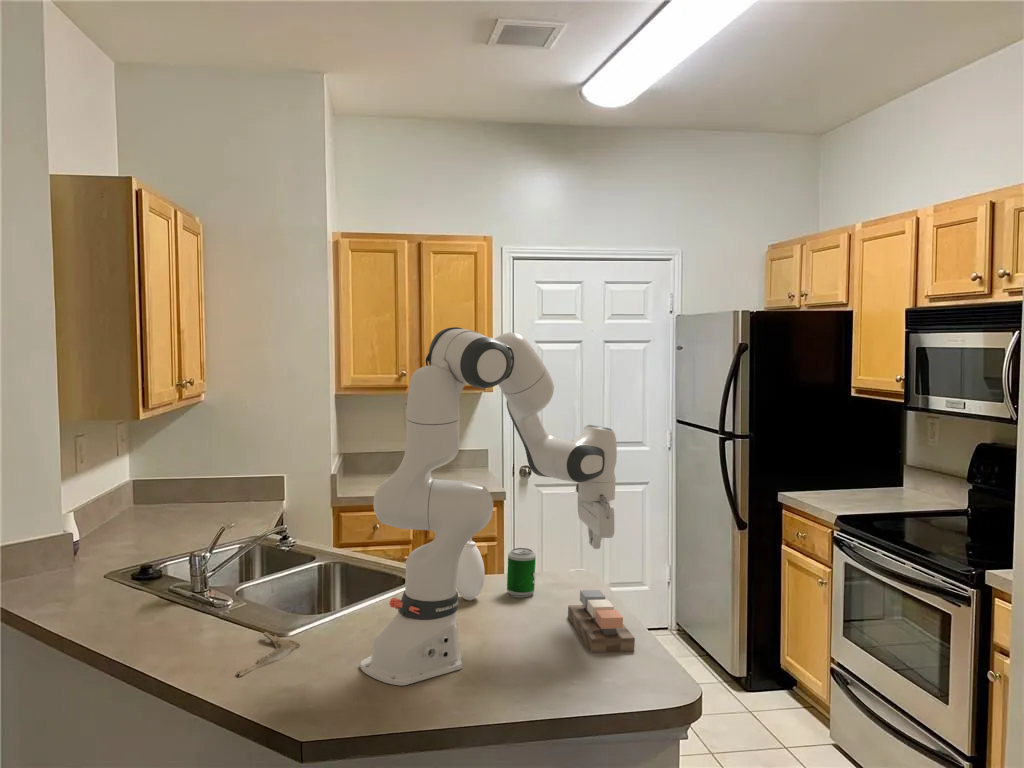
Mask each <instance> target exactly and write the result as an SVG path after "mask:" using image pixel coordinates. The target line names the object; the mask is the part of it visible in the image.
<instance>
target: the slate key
mask: <svg viewBox="0 0 1024 768" xmlns="http://www.w3.org/2000/svg"><path fill="white" fill-rule="evenodd" d="M605 599H606V596H605V595H604V593H603V592H602V591H601V590H600V589H585V590H583V589H581V590H580V591H579V601H580V602H581V605H584V606H585V611H586V612H587V613H589V612H588V610H587V604H588V600H605Z"/></svg>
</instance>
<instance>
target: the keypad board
mask: <svg viewBox="0 0 1024 768" xmlns="http://www.w3.org/2000/svg"><path fill="white" fill-rule="evenodd" d="M567 607H568V609H567V619H569V621H570V623H571V624H572V626H573V627H574V628H575V630H576V631H577V633H578V635H579V636H580V638H581V639H582V640H583V643H584V644H585V645H586V647H587V648H588V649H589V651H590V653H591V654H592V653H616V652H617V653H618V652H620V653H621V652H635V646H636V645H635V642H636V641H635V639H636V638H635V637H634V635H633V634H632V632H630V631H629V629H628V628H627V627H626V626H625V624H623V628H616V635H603V634H602V633H601V628H600V626H599V625H598V624H595V623H594V622H593V617H592V616H591V614H590V613H587V612H586V611H585V606H584V605H583V604H573V605H572V604H569V605H568V606H567Z"/></svg>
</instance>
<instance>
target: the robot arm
mask: <svg viewBox="0 0 1024 768" xmlns="http://www.w3.org/2000/svg"><path fill="white" fill-rule="evenodd" d="M553 382H554V381H553V379H552V376H551V375H550V372H549V371H548V369H547V368H546V366H545V364H544V362H543V360H542V359H541V358H540V356H539V355H538V353H537V352H536V351H535V349H534V348H533V346H531V343H529V342H528V341H527V340H526V338H524V337H523V335H521V334H520V333H517V332H506V333H503V334H502V333H501V334H500V335H498V336H496V337H495V338H493V337H489V336H487V335H484V334H482V333H480V332H478V331H475V330H472V329H466V328H463V327H462V328H461V327H455V326H454V327H447V328H445V329H442V330H440V331H438V332H437V334H436V335H435V336H433V338H432V340H431V343H430V345H429V349H428V353H427V355H426V358H425V365H424V366H422V367H419V368H418V369H416V370H415V371H414V372H413V373H412V375H411V377H410V382H409V386H408V392H407V402H406V403H407V404H406V439H405V448H404V454H403V458H402V461H401V463H400V465H399V467H398V468H397V469H396V471H394V473H393V474H391V475H390V476H389V477H388V478H386V479H385V480H383V482H382V483H381V484H379V486H378V487H377V489H376V491H375V493H374V496H373V502H372V503H373V504H372V505H373V511H374V514H375V516H376V518H377V519H378V521H379V522H380V523H381V524H383V525H385V526H386V525H387V526H389V527H390V526H391V527H394V528H397V529H402V530H417V531H431V532H434V539H433V540H432V541H429V542H428V543H425V544H423V545H420V546H419V547H417V548H415V549H414V550H412V551H411V552H410V553H409V554H408V556H407V558H406V562H405V583H404V584H405V585H404V586H405V588H404V589H405V590H404V592H403V593H402V595H401V599H399V598H396V597H391V598H390V600H389V607H390V608H394V609H396V610H397V613H396V614H395V615H394V616H393V617H392V619H391V620H390V621H389V622H388V623H387V624H386V625H385V627H383V629H382V630H381V631H380V632H378V634H377V635H376V636H375V638H374V640H373V644H372V648H371V650H372V651H371V655H370V656H368V657H366V658H364V659H362V660H361V661H360V663H359V668H360V669H361V670H362V672H363V673H365V674H366V675H367V676H369V677H370V678H373V679H375V680H378V681H380V682H383V683H385V684H390V685H394V686H395V685H396V686H407V685H411V684H414V683H418V682H421V681H424V680H428V679H431V678H434V677H438V676H441V675H445V674H448V673H451V672H455V671H458V670H461V669H462V668H463V662H462V658H463V657H462V656H463V654H462V650H461V645H460V640H459V639H460V637H459V629H458V621H457V620H458V619H457V611H458V610H459V592H458V590H457V588H456V585H457V571H458V563H459V559H460V555H461V553H462V550H463V548H464V547H465V546H466V544H467V542H468V541H470V539H471V538H472V539H473V537H474V536H475V535H476V534H477V533H479V532H480V531H482V530H483V529H485V527H486V526H487V525H488V524H489V522H490V521H491V519H492V516H493V513H494V501H493V496H492V494H491V492H490V491H489V489H488V488H487V487H486V486H485V485H483V484H479V483H475V482H473V481H472V482H471V481H467V480H458V479H457V480H456V479H436V478H433V477H432V471H435V469H438V468H441V467H442V466H446V465H447V464H449V463H450V462H452V461H453V460H454V459H455V458H456V457H457V456H458V454H459V451H460V398H461V394H462V391H463V389H464V388H465V386H466V385H469V386H470V387H473V388H477V389H489V388H493V387H495V386H497V385H498V386H499V389H500V390H501V392H502V393H503V395H504V397H505V399H506V408H507V412H508V415H509V416H510V419H511V422H512V423H513V426H514V428H515V430H516V432H517V434H518V436H519V438H520V441H521V442H522V445H523V447H524V449H525V455H526V459H527V462H528V463H527V464H528V467H529V468H530V470H531V471H532V472H533V474H535V475H536V476H538V477H543V478H544V477H545V478H552V479H557V480H562V481H566V482H567V481H568V482H570V483H571V482H572V483H576V484H575V491H576V493H577V514H578V515H577V516H578V518H579V520H580V521H581V522H582V523H584V524H585V525H586V526H587V533H588V538H589V539H588V544H589V545H590V546H591V547H592V548H593V549H595V550H599V549H600V548H601V545H602V544H601V543H602V539H612V538H614V535H615V508H614V506H613V505H612V504H610V502H611V501H614V500H615V499H616V475H615V474H616V473H615V468H616V466H617V453H618V452H617V447H618V446H617V437H616V433H615V431H614V430H613V429H611V428H609V427H605V426H599V425H593V424H587V425H584V428H583V430H582V432H581V433H580V434H579V435H577V436H576V437H575V438H572V439H571V440H569V439H564V438H558V437H555V436H553V435H551V434H549V433H548V432H547V431H546V429H545V428H544V426H543V423H542V421H541V419H540V417H539V414H538V413H540V412H541V411H542V410H543V409H544V408H546V407H547V405H548V404H549V403H550V401H551V400H552V398H553V395H554V392H555V385H554V383H553Z"/></svg>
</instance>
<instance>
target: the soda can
mask: <svg viewBox="0 0 1024 768" xmlns="http://www.w3.org/2000/svg"><path fill="white" fill-rule="evenodd" d="M536 557H537V556H536V553H535V552H534V550H533V549H531V548H526V547H515V548H512V549H511V551H509V552H508V553H507V573H506V574H507V575H506V576H507V577H506V578H507V579H506V591H507V593H509V595H510V596H511V597H513V598H529V597H531V596H532V594H534V593H535V585H536V584H535V583H536V581H535V580H536V559H537V558H536Z"/></svg>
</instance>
